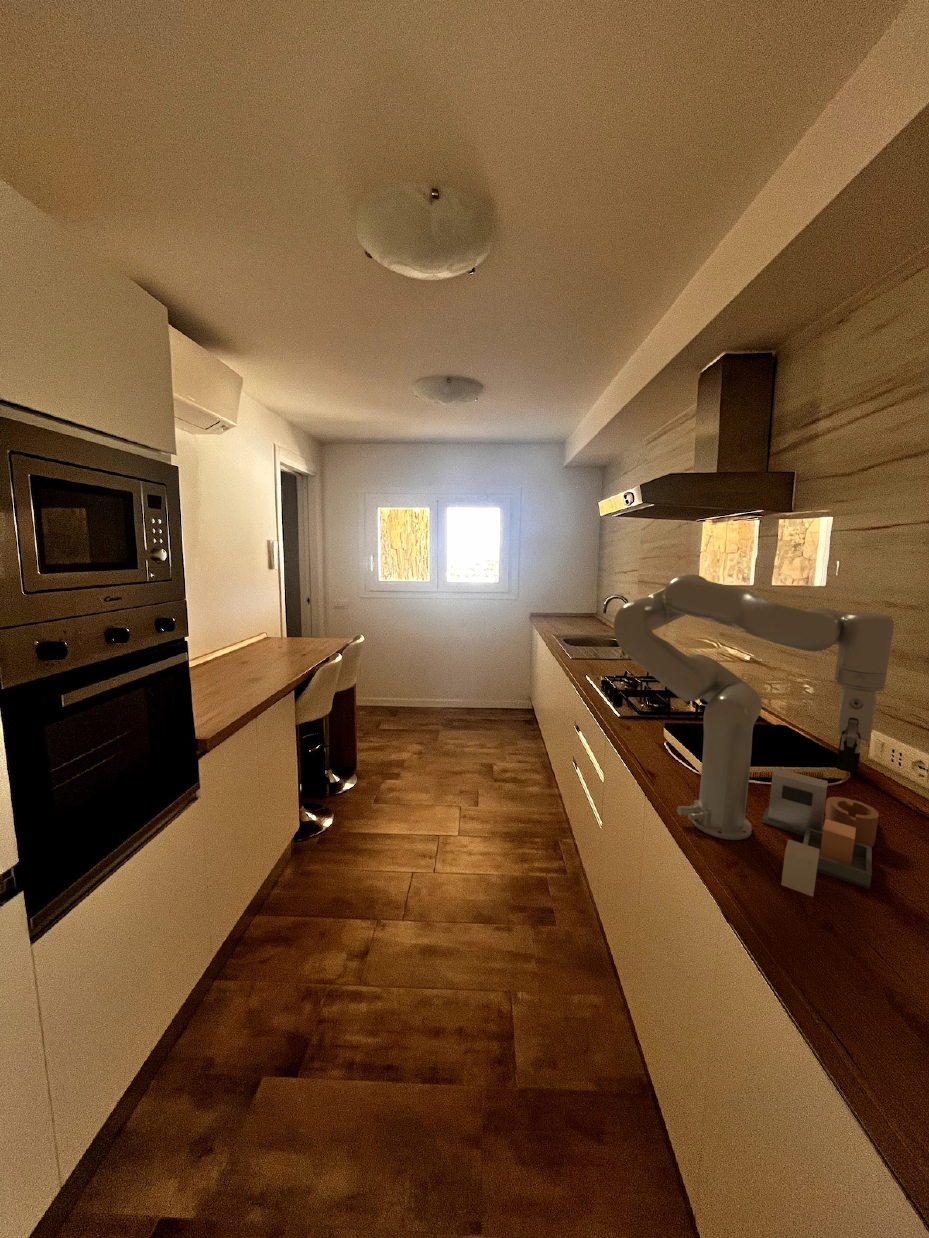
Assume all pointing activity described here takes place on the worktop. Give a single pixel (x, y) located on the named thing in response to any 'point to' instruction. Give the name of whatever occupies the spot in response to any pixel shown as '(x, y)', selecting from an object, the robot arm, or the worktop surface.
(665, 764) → the worktop surface
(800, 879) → the cream block
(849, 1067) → the worktop surface
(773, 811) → the mounted unit
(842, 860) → the terracotta block
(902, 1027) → the worktop surface
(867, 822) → the bracket
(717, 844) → the worktop surface
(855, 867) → the tray
